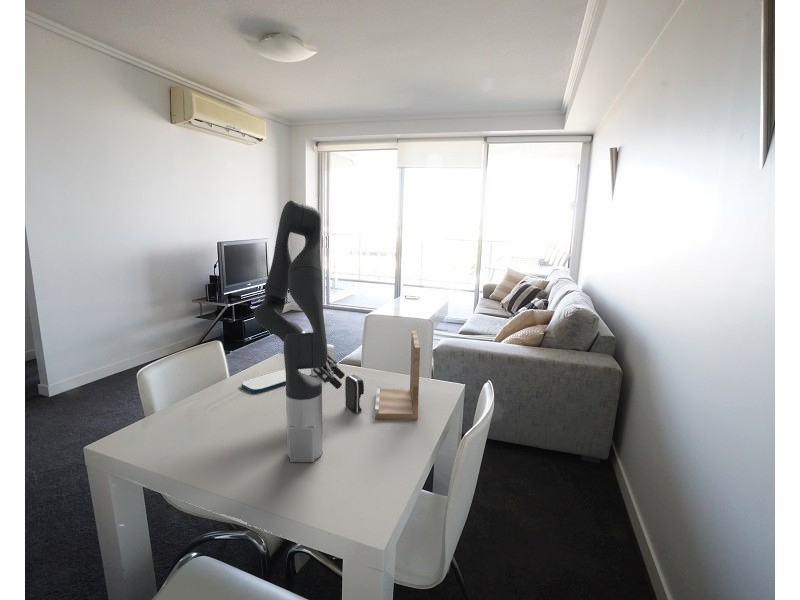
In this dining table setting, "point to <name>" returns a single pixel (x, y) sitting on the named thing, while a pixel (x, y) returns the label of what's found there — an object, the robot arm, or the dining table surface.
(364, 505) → the dining table surface
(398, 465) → the dining table surface
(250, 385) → the external hard drive
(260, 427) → the dining table surface
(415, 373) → the shelf
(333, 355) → the photo printer
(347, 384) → the battery charger
